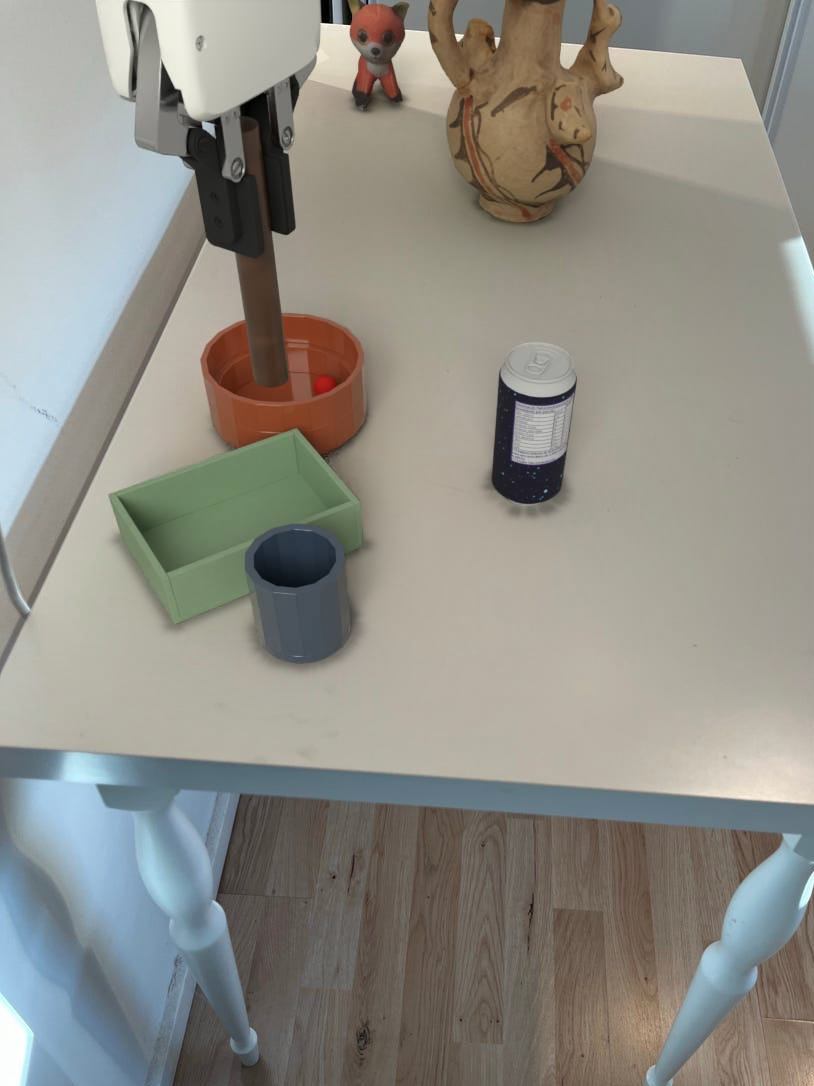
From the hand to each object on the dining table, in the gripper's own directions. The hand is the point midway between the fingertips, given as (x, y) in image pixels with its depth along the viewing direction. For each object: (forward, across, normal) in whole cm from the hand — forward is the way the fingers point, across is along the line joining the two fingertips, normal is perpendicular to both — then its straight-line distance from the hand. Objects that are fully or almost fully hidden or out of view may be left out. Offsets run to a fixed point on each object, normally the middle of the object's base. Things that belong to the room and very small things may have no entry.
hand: (251, 235), depth 50 cm
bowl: (+27, -17, -12) cm, 34 cm away
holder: (+27, +3, +2) cm, 27 cm away
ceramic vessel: (+27, -62, -11) cm, 69 cm away
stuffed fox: (+27, -80, -40) cm, 93 cm away
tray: (+27, -2, -7) cm, 28 cm away
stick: (+9, 0, 0) cm, 9 cm away
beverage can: (+27, -18, +9) cm, 34 cm away
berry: (+25, -20, -10) cm, 34 cm away
